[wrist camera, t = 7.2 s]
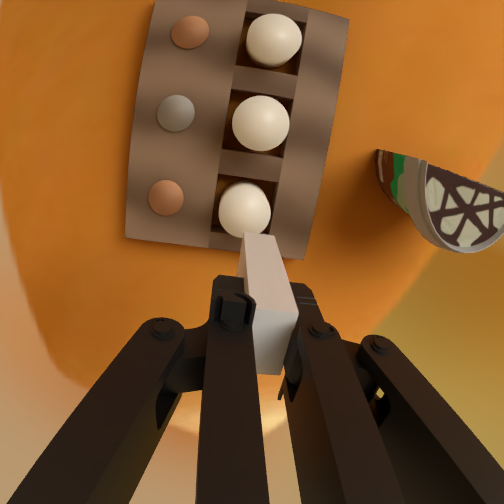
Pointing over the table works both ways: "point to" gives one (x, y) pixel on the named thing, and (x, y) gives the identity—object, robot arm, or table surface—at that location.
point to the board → (214, 121)
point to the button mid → (260, 123)
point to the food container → (442, 202)
